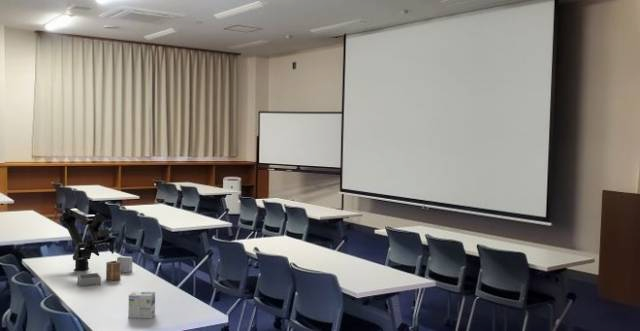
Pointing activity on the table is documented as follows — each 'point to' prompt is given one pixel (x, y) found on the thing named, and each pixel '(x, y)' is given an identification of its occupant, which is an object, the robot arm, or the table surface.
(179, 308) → the table surface
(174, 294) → the table surface
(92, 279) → the grey square tray
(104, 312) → the table surface
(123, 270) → the medicine box
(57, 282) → the table surface
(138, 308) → the light bulb box
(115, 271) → the small crate
